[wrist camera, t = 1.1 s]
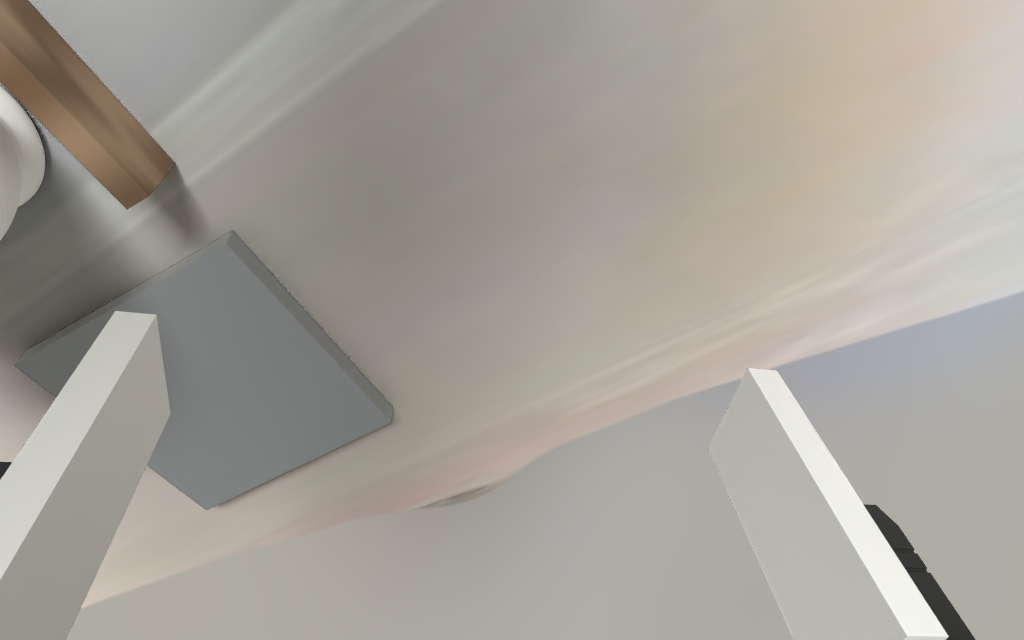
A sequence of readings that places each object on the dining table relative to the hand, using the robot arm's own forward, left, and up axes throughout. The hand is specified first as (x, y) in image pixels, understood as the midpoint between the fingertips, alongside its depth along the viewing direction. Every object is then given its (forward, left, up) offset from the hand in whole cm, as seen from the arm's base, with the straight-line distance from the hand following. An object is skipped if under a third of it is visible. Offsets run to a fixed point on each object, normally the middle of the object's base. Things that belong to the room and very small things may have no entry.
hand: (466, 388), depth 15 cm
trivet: (+9, -23, -23) cm, 34 cm away
